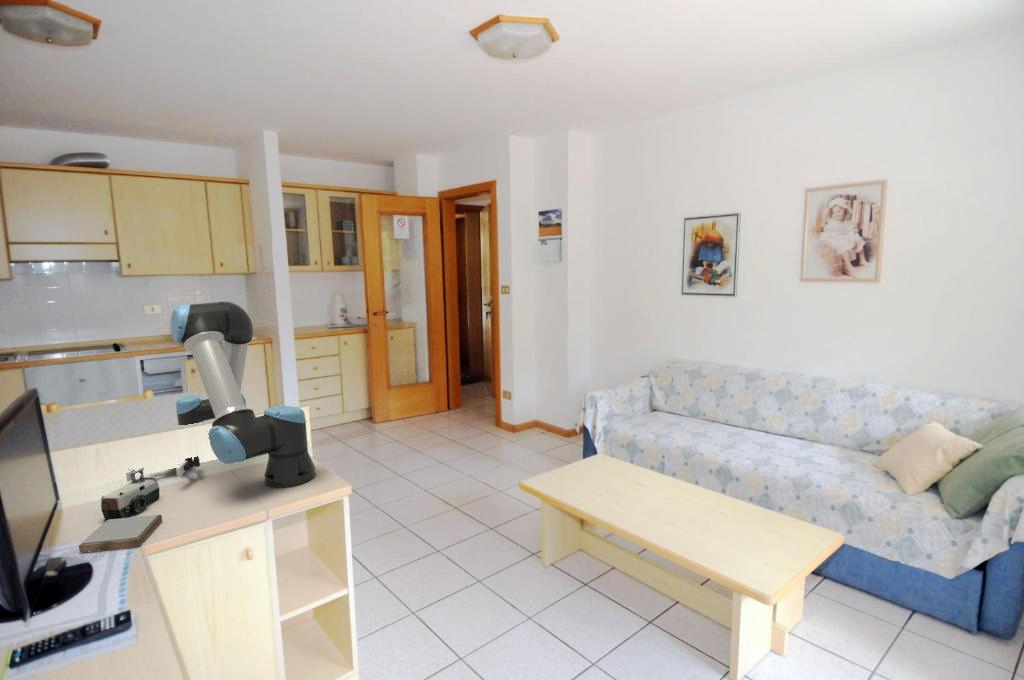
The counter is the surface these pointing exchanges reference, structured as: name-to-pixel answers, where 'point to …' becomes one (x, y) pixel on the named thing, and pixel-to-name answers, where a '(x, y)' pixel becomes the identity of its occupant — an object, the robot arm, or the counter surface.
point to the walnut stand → (121, 533)
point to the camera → (130, 497)
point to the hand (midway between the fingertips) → (153, 475)
